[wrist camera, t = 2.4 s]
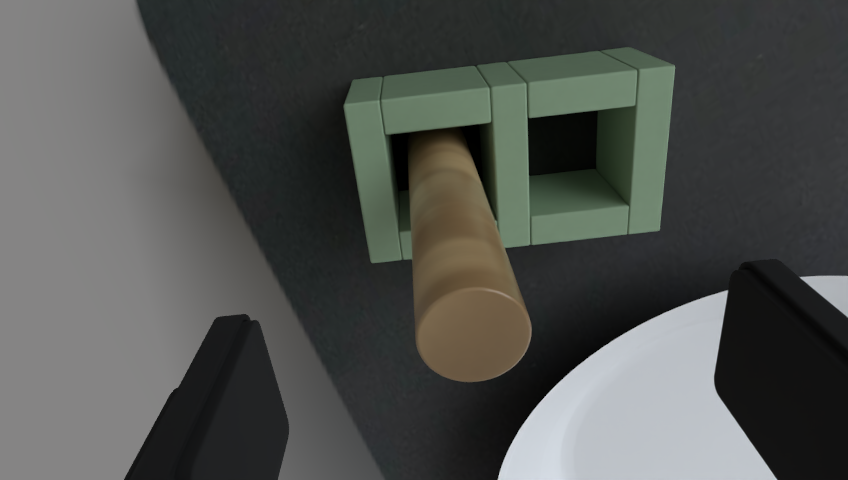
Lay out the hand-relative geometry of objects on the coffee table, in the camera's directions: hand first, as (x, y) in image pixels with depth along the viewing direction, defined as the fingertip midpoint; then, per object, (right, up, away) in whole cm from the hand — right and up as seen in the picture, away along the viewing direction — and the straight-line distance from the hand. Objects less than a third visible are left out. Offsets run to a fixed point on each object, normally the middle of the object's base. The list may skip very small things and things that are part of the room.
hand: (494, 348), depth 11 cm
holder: (+1, +6, +12) cm, 13 cm away
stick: (-1, +6, +12) cm, 13 cm away
